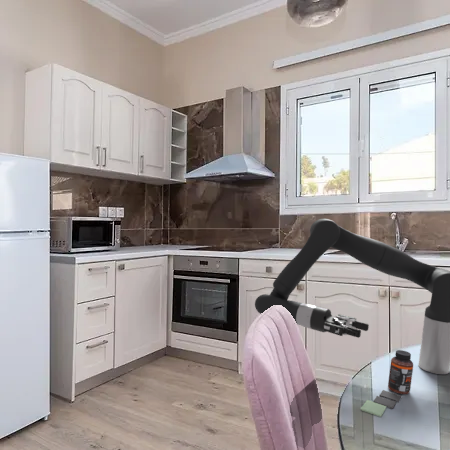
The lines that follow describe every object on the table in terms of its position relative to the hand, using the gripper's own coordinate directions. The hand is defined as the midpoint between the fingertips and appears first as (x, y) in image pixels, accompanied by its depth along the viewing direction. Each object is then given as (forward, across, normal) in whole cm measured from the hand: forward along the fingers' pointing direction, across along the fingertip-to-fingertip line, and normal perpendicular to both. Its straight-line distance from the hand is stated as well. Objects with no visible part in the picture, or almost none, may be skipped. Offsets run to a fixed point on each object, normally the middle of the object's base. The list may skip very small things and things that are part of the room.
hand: (364, 330), depth 124 cm
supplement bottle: (+12, 0, +15) cm, 19 cm away
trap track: (+9, -12, +15) cm, 21 cm away
